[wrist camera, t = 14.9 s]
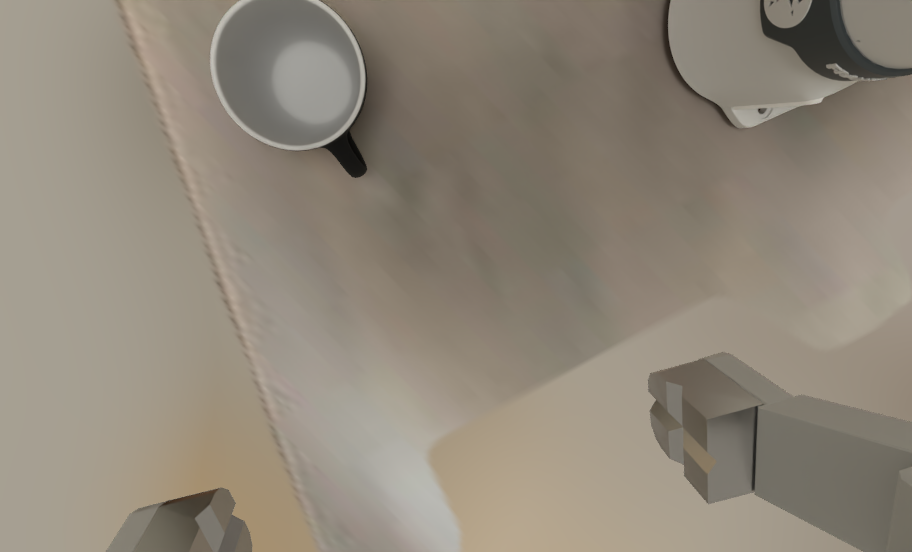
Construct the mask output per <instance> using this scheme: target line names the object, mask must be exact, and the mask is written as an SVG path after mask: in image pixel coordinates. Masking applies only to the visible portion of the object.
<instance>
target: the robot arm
mask: <svg viewBox="0 0 912 552" xmlns="http://www.w3.org/2000/svg"><path fill="white" fill-rule="evenodd" d="M668 35H669V43H670V48H671V52H672V56H673V59H674V62H675V64H676V66H677V68H678V70H679V72H680V74H681V75H682V77H683V78H684V80H685V81H686V82H687V84H688V85H689V86H690V87H691V88H692V89H693V90H695V91H696V92H697V93H698V94H700V95H701V96H703V97H705V98H707V99H709V100H711V101H713V102H715V103H716V104H718V105H719V106H720V107H721V108H722V109H723V111H724V113H725V114H726V116H727V117H728V119H729V120H730V121H731V122H732V123H733V125H735V126H736V127H738V128H750V127H754V126H756V125H759V124H761V123H763V122H765V121H767V120H770V119H772V118H774V117H776V116H779V115H781V114H783V113H785V112H788V111H790V110H792V109H794V108H797V107H799V106H802V105H812V104H817V103H820V102H822V100H823V98H824V97H826V96H829V95H831V94H834V93H836V92H838V91H840V90H842V89H844V88H846V87H848V86H850V85H852V84H854V83H856V82H858V81H876V80H886V79H887V78H893V77H898V76H905V75H910V74H912V0H671V1H670V7H669V16H668ZM758 108H761V109H760V111H759V112H758ZM648 388H649V389H648V390H649V392H650V394H651V395H652V396H653V397H654V398H655V399H656V401H655V403H654V404H653V406H652V408H651V409H650V418H651V426H652V428H653V431H654V434H655V437H656V440H657V441H658V443H659V445H660V446H661V448H662V449H663V451H664V452H665V453H666V455H667V456H668V457H669V458H670V459H672V460H674V461H677V462H679V463H681V464H683V465H684V476H685V477H686V478H687V480H688V481H689V482H690V483H691V484H692V486H693V487H694V488H695V489H696V490H697V491H698V493H699V494H700V495H701V496H702V497H703V499H704V500H706V502H707V503H708V504H711V503H714V502H718V501H722V500H726V499H729V498H733V497H737V496H741V495H745V494H749V493H753V492H755V495H756V496H758V497H760V498H762V499H764V500H766V501H768V502H770V503H771V504H773V505H776V506H777V507H779V508H781V509H783V510H785V511H787V512H789V513H791V514H793V515H795V516H796V517H798V518H800V519H803V520H804V521H806V522H808V523H810V524H812V525H814V526H816V527H818V528H819V529H821V530H823V531H825V532H827V533H829V534H831V535H833V536H835V537H837V538H838V539H841V540H842V541H844V542H846V543H848V544H850V545H852V546H854V547H856V548H858V549H860V550H861V551H863V552H912V422H910V421H905V420H901V419H897V418H894V417H889V416H885V415H882V414H877V413H874V412H869V411H866V410H862V409H858V408H854V407H850V406H845V405H841V404H838V403H834V402H830V401H826V400H822V399H818V398H813V397H809V396H805V395H798V396H795V397H793V396H792V395H791V394H789V393H788V392H786V391H785V390H783V389H781V388H780V387H779V386H777V385H776V384H774V383H773V382H771V381H770V380H769V379H767V378H766V377H764V376H762V375H761V374H760V373H758V372H757V371H755V370H754V369H752V368H751V367H749V366H748V365H746V364H745V363H744V362H742V361H741V360H739V359H738V358H736V357H735V356H733V355H732V354H729V353H725V352H721V353H718V354H714V355H711V356H708V357H704V358H701V359H699V360H697V361H694V362H690V363H686V364H682V365H679V366H675V367H671V368H668V369H664V370H660V371H657V372H653V373H650V376H649V379H648ZM235 504H236V503H235V501H234V499H233V497H232V496H231V494H230V492H229V490H227V489H224V488H218V489H214V490H210V491H206V492H201V493H197V494H193V495H189V496H185V497H181V498H177V499H173V500H169V501H166V502H162V503H158V504H154V505H150V506H146V507H143V508H138V509H137V510H135V511H134V512H132V513H131V514H130V515H129V516H128V518H127V519H126V521H125V522H124V524H123V526H122V527H121V529H120V530H119V532H118V533H117V535H116V537H115V538H114V539H113V541H112V543H111V544H110V546H109V547H108V549H107V550H106V552H252V542H251V537H250V532H249V530H248V528H247V526H246V524H245V522H244V521H243V520H241V519H239V518H237V517H235V516H233V515H232V512H233V509H234V507H235Z"/></svg>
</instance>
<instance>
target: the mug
mask: <svg viewBox="0 0 912 552" xmlns="http://www.w3.org/2000/svg"><path fill="white" fill-rule="evenodd" d="M210 70H211V76H212V81H213V84H214V87H215V90H216V93H217V95H218V98H219V100H220V101H221V103H222V105H223V107H224V108H225V110H226V112H227V113H228V114H229V115H230V117H231V118H232V119H233V120H234V121H235V123H236V124H237V125H238V126H240V127H241V128H242V129H243V130H244V131H245V132H247V133H248V134H249V135H251V136H252V137H254V138H255V139H257V140H259V141H261V142H262V143H265V144H267V145H269V146H272V147H275V148H279V149H283V150H290V151H306V150H312V149H316V148H326V149H328V150H329V151H330V152H331V153H332V154H333V155H334V156H335V157H336V158H337V160H338V161H339V162H340V164H341V165H342V166H343V168H344V169H345V170H346V171H347V172H348V173H349V174H350V175H351V176H352V177H354V178H357V177H361V176H362V175H364V174H365V173H366V171H367V167H366V164H365V161H364V159H363V157H362V155H361V153H360V151H359V150H358V148H357V146H356V144H355V142H354V141H353V139H352V137H351V134H350V132H349V129H350V128H351V127H352V126H353V124H354V123H355V121H356V120H357V118H358V116H359V114H360V112H361V110H362V107H363V105H364V101H365V97H366V91H367V72H366V65H365V60H364V57H363V54H362V51H361V48H360V46H359V43H358V41H357V39H356V37H355V36H354V34H353V33H352V31H351V29H350V28H349V27H348V25H347V24H346V23H345V21H344V20H343V19H342V18H341V17H340V16H339V15H338V14H337V13H336V12H335V11H334V10H333V9H332V8H330V7H329V6H328V5H326V4H325V3H323V2H322V1H320V0H239V1H238V2H236V3H235V4H234V5H233V6H232V7H231V8H230V9H229V10H228V11H227V12H226V13H225V15H224V16H223V17H222V19H221V20H220V22H219V24H218V26H217V28H216V30H215V33H214V36H213V39H212V43H211V49H210Z"/></svg>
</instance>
